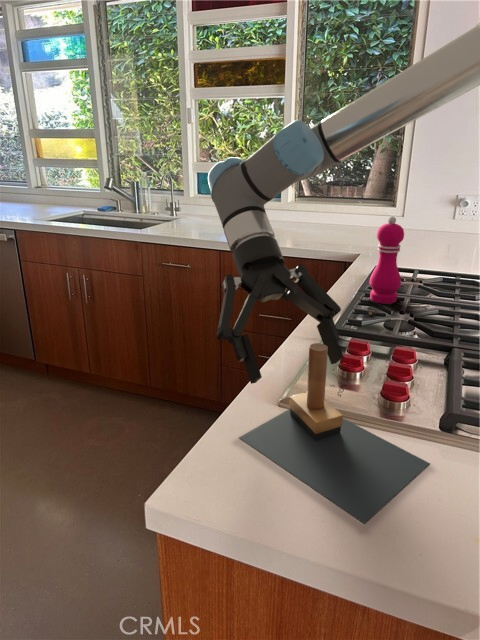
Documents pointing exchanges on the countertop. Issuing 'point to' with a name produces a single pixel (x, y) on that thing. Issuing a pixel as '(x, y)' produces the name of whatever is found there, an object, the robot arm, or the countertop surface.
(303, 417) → the scrub brush
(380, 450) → the mat
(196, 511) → the countertop surface
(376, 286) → the pepper mill
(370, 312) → the nutmeg
